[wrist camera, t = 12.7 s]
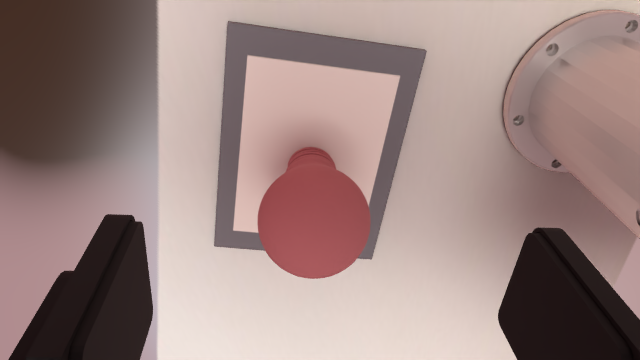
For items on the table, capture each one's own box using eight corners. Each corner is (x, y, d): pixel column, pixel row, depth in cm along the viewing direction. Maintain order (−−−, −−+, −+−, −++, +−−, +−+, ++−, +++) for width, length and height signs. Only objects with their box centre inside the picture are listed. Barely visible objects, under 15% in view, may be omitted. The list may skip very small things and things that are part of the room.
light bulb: (271, 110, 36) (264, 195, 25) (364, 126, 37) (394, 214, 26) (257, 191, 39) (246, 295, 29) (342, 204, 40) (361, 309, 30)
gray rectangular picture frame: (228, 21, 33) (227, 23, 32) (425, 49, 35) (427, 51, 34) (214, 243, 42) (213, 247, 42) (370, 256, 44) (371, 260, 43)
